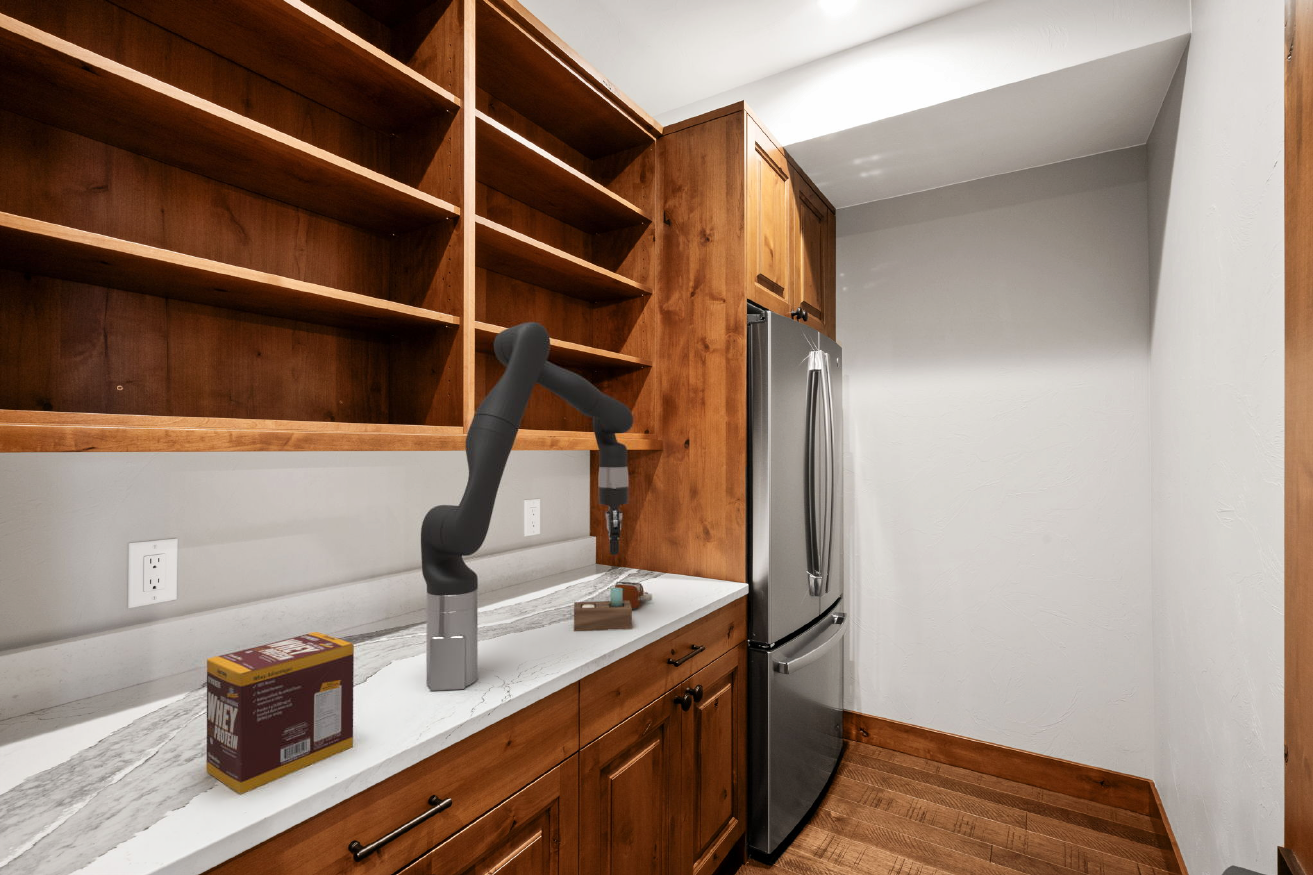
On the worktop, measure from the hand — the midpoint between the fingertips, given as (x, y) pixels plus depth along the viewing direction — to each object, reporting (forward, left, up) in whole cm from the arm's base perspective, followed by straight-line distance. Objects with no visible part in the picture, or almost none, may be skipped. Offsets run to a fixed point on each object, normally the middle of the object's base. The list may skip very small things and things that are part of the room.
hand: (614, 554), depth 154 cm
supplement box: (-61, +50, -18) cm, 81 cm away
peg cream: (-1, +6, -18) cm, 19 cm away
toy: (+19, -6, -18) cm, 27 cm away
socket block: (-1, +3, -18) cm, 18 cm away
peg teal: (-1, -1, -14) cm, 14 cm away
